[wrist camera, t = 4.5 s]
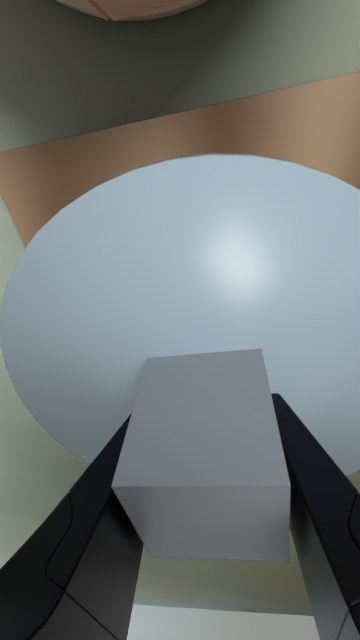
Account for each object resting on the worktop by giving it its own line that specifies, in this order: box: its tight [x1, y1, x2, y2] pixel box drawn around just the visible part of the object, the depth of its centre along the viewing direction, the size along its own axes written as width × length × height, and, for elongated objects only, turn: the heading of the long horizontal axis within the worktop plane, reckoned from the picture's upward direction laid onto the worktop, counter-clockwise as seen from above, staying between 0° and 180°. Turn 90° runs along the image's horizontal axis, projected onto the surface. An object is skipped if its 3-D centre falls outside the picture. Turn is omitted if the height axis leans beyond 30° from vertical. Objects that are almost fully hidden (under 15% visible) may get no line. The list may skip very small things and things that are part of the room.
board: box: [0, 72, 360, 247], centre depth 15 cm, size 16×16×1 cm
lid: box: [0, 153, 360, 562], centre depth 9 cm, size 14×14×5 cm
